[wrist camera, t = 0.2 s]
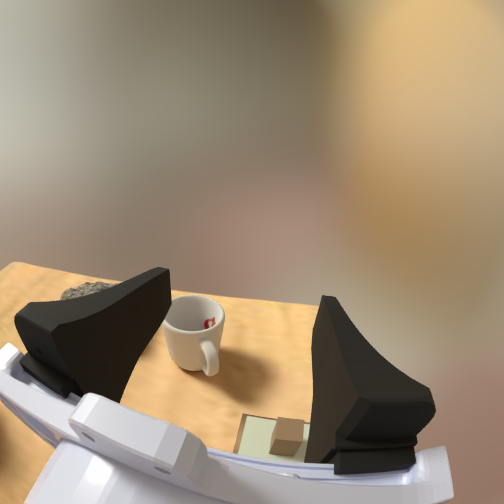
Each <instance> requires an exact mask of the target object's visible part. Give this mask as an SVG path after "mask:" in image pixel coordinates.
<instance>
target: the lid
mask: <svg viewBox="0 0 504 504" xmlns="http://www.w3.org/2000/svg"><path fill="white" fill-rule="evenodd" d="M309 428H310V424H304V420H298V419H289V418H282V417H278V419H277V421H276V420H270V419H263V418H257V417H251V416H247V418H246V423H245V427H244V431H243V435H242V439H241V444H240V448H239V452H238V454H240V455H246V456H251V457H257V458H264V459H271V460H279V461H288V462H299V463H304V459H305V454H306V448H307V442H308V435H309Z"/></svg>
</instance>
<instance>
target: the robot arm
mask: <svg viewBox="0 0 504 504" xmlns="http://www.w3.org/2000/svg"><path fill="white" fill-rule="evenodd" d="M171 305H172V299H171V287H170V273H169V269H166V268H161V267H157V268H154V269H151V270H149V271H147V272H144V273H142V274H140V275H138V276H136V277H134V278H131V279H129V280H127V281H124V282H122V283H120V284H117V285H115V286H112V287H110V288H107V289H105V290H102V291H99V292H96V293H92V294H89V295H85V296H81V297H76V298H72V299H66V300H59V301H49V302H30V303H28V304H27V305H26V306H25V307H24V308H23V309H21V310H20V311H19V312H18V313H17V314H16V315H15V320H14V322H15V326H16V329H17V331H18V333H19V336H20V338H21V340H22V342H23V344H24V345H25V347H26V349H27V351H28V352H27V353H26V354H25V356H24V355H23V353H22V352H21V351H20V350H18V349H17V348H16V347H14V346H13V345H12V344H11V343H7V344H6V345H5V346H4V347H3V348H2V349H1V350H0V400H1V401H2V403H3V404H4V405H5V406H6V407H7V408H8V409H9V410H10V411H11V412H12V413H13V414H14V415H16V416H17V417H18V418H19V419H20V420H21V421H22V422H23V423H24V424H25V425H27V426H28V427H29V428H30V429H31V430H32V431H34V432H35V433H36V434H37V435H38V436H40V437H41V438H42V439H43V440H44V441H46V442H47V443H48V444H50V445H51V446H52V447H53V448H55V451H54V452H53V454H52V456H51V457H50V459H49V460H48V462H47V464H46V465H45V467H44V469H43V470H42V472H41V474H40V475H39V477H38V479H37V481H36V482H35V484H34V486H33V488H32V489H31V491H30V493H29V495H28V496H27V498H26V500H25V502H24V504H443V503H445V502H447V501H449V500H451V499H453V497H454V491H453V484H452V478H451V472H450V466H449V461H448V456H447V451H446V447H445V446H440V447H434V448H429V449H423V450H420V451H418V452H416V453H415V451H414V446H415V445H416V444H417V437H416V435H417V434H418V433H419V432H420V431H421V430H422V429H423V428H424V427H425V426H426V425H427V424H428V423H429V422H430V421H431V419H432V418H433V417H434V414H435V412H436V408H435V404H434V400H433V398H432V395H431V391H430V389H429V388H428V387H426V386H424V385H422V384H421V383H419V382H417V381H415V380H413V379H412V378H410V377H409V376H407V375H406V374H404V373H403V372H401V371H400V370H399V369H397V368H396V367H394V366H393V365H392V364H391V363H390V362H388V361H387V360H386V359H385V358H384V357H383V356H381V355H380V354H379V353H378V352H377V351H376V350H375V349H374V348H373V347H372V346H371V345H370V344H369V342H368V341H367V340H366V339H365V338H364V337H363V335H362V334H361V333H360V332H359V331H358V329H357V328H356V327H355V325H354V324H353V323H352V321H351V320H350V318H349V317H348V315H347V314H346V313H345V311H344V309H343V308H342V306H341V305H340V303H339V302H338V300H337V299H336V297H332V296H324V295H323V296H322V298H321V302H320V306H319V309H318V313H317V316H316V320H315V324H314V327H313V332H312V346H311V351H312V372H313V401H312V412H311V421H310V428H309V435H308V442H307V448H306V454H305V459H304V463H299V462H288V461H279V460H271V459H264V458H257V457H251V456H246V455H240V454H235V453H230V452H226V451H221V450H217V449H213V448H209V447H206V446H205V445H204V444H203V442H202V441H201V439H200V438H199V437H197V436H195V435H194V434H192V433H191V432H189V431H188V430H186V429H183V428H181V427H178V426H176V425H174V424H171V423H169V422H166V421H163V420H160V419H157V418H154V417H151V416H149V415H146V414H143V413H141V412H138V411H136V410H133V409H131V408H128V407H126V406H123V405H121V404H119V403H120V400H121V398H122V395H123V392H124V390H125V387H126V385H127V383H128V380H129V378H130V376H131V373H132V371H133V369H134V367H135V365H136V363H137V361H138V359H139V357H140V356H141V354H142V352H143V351H144V349H145V348H146V346H147V345H148V343H149V342H150V340H151V339H152V337H153V336H154V334H155V333H156V331H157V330H158V328H159V327H160V325H161V324H162V322H163V321H164V319H165V317H166V315H167V313H168V311H169V309H170V307H171Z"/></svg>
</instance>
